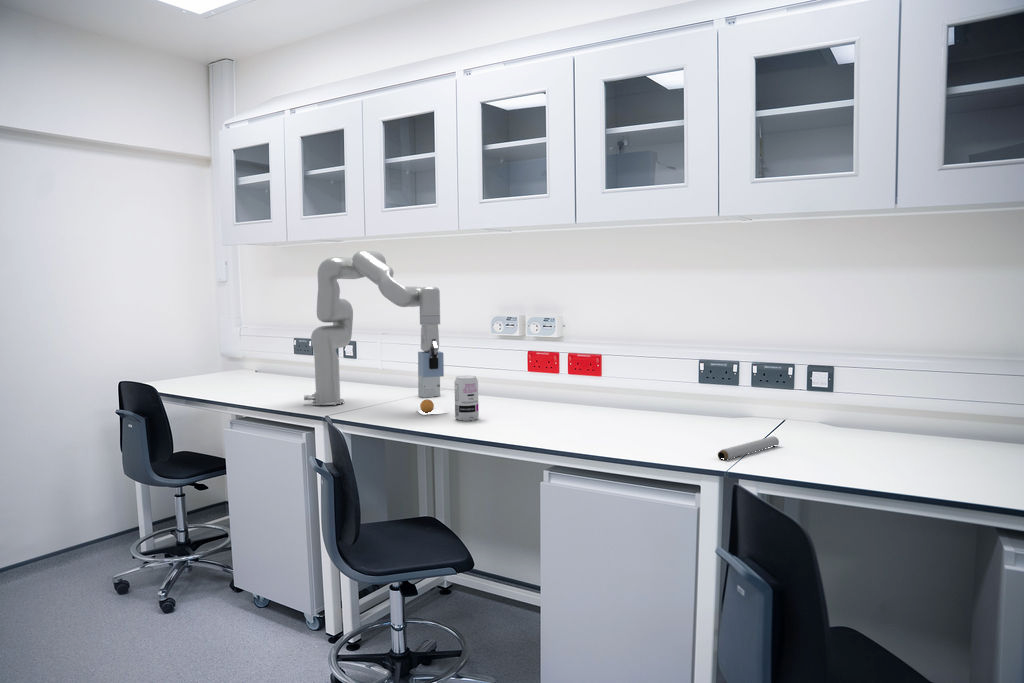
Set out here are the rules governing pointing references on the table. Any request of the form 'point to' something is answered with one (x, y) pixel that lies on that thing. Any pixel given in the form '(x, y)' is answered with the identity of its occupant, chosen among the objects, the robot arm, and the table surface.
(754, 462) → the table surface
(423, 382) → the skincare box
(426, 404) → the ball
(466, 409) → the supplement can
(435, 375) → the light blue square block
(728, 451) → the grey tube
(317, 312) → the robot arm
